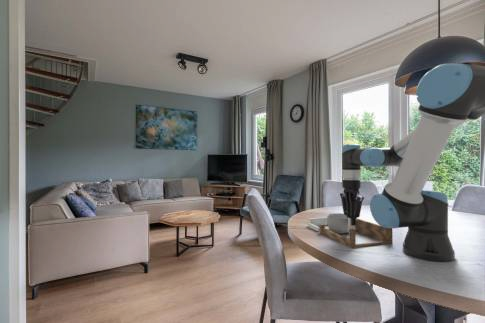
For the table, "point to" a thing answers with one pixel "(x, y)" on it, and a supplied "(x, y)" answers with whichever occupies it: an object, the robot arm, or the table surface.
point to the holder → (317, 223)
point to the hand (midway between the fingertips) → (351, 232)
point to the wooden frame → (366, 229)
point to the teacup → (337, 223)
